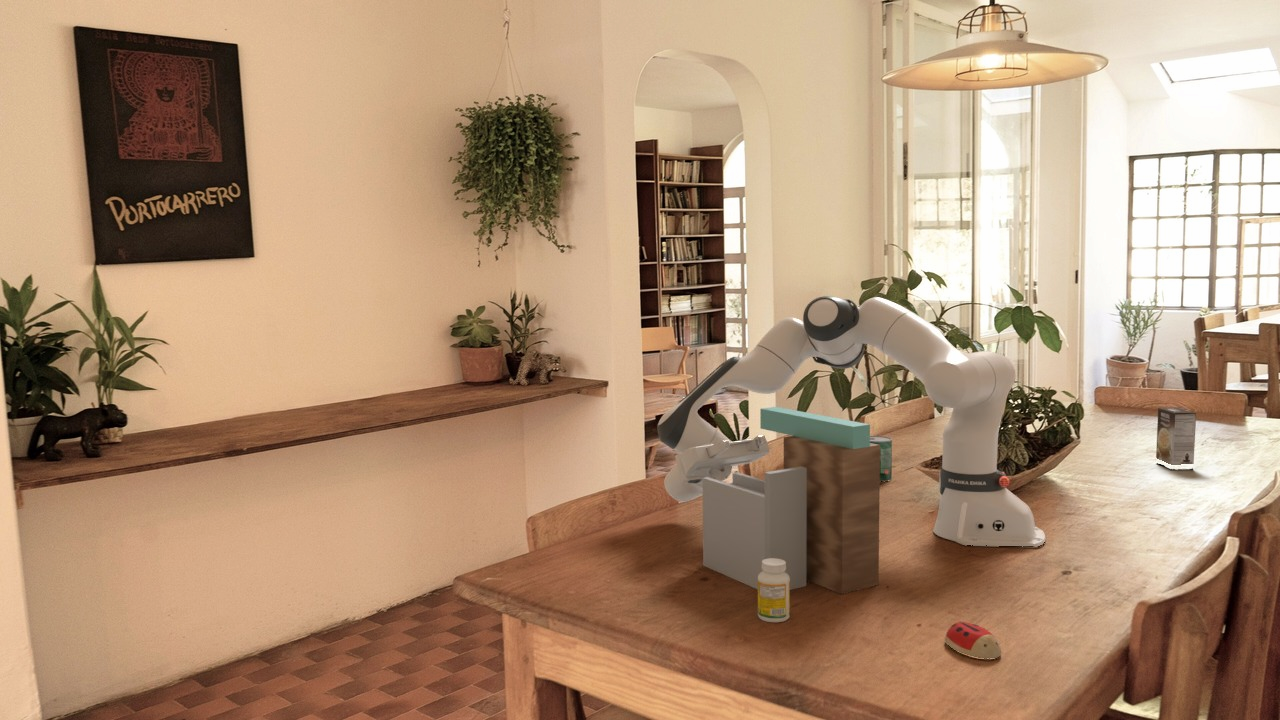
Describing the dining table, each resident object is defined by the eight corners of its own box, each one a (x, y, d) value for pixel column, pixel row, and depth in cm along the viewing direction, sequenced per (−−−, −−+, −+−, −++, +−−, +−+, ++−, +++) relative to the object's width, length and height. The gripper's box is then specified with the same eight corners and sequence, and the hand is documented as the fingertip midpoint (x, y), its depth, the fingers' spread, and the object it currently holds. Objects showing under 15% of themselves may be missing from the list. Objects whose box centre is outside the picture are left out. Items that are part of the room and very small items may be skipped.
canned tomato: (895, 477, 267) (896, 437, 265) (886, 483, 260) (886, 442, 259) (867, 474, 271) (867, 434, 270) (857, 480, 264) (857, 439, 263)
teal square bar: (760, 428, 197) (760, 408, 197) (776, 426, 199) (776, 406, 199) (853, 449, 175) (853, 426, 175) (869, 446, 177) (869, 424, 177)
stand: (783, 570, 190) (783, 437, 187) (819, 562, 195) (819, 432, 192) (842, 594, 176) (842, 450, 174) (878, 584, 181) (879, 444, 178)
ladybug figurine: (979, 666, 146) (979, 643, 145) (932, 643, 154) (932, 621, 154) (1012, 658, 149) (1013, 635, 148) (964, 635, 157) (965, 614, 157)
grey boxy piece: (703, 565, 194) (702, 454, 192) (737, 557, 198) (737, 449, 196) (770, 594, 177) (769, 473, 174) (806, 586, 181) (806, 467, 179)
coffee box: (1154, 463, 279) (1156, 407, 277) (1177, 463, 279) (1179, 406, 277) (1171, 470, 270) (1173, 412, 268) (1195, 470, 269) (1197, 412, 268)
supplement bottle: (778, 625, 162) (778, 568, 161) (751, 618, 166) (751, 562, 165) (796, 616, 166) (796, 560, 165) (768, 609, 170) (768, 554, 169)
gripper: (753, 471, 220) (788, 449, 209) (677, 484, 209) (710, 461, 198) (744, 445, 222) (778, 421, 211) (668, 456, 211) (700, 432, 201)
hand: (744, 440), depth 205 cm, fingers open, 8 cm apart
